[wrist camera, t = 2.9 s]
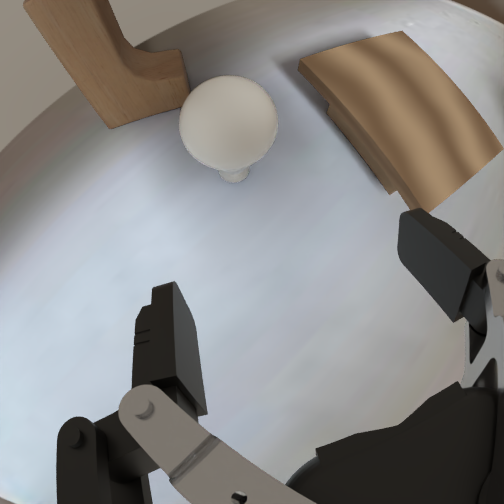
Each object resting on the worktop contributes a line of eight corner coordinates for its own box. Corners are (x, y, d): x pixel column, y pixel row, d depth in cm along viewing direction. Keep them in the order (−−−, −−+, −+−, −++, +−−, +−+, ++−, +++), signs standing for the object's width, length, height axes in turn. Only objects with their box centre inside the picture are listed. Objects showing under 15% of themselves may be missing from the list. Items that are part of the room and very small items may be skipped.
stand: (393, 233, 25) (426, 214, 20) (292, 99, 28) (300, 59, 22) (472, 170, 27) (503, 148, 21) (385, 63, 29) (402, 30, 23)
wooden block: (187, 75, 28) (152, -69, 11) (193, 105, 28) (152, -53, 10) (108, 100, 28) (35, -21, 10) (109, 131, 27) (19, 5, 10)
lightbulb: (259, 214, 26) (265, 151, 15) (188, 195, 26) (151, 128, 15) (278, 150, 27) (292, 67, 16) (211, 134, 27) (193, 50, 16)
